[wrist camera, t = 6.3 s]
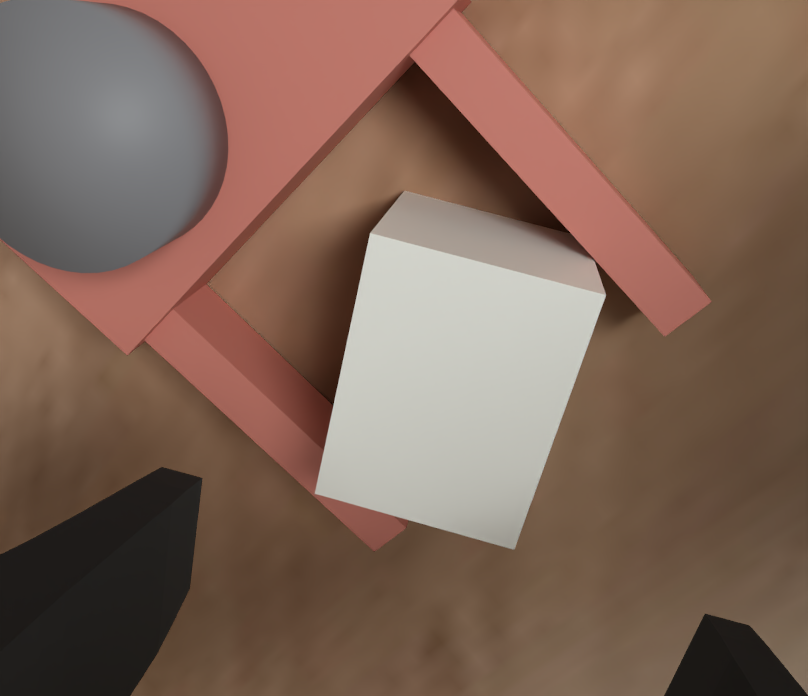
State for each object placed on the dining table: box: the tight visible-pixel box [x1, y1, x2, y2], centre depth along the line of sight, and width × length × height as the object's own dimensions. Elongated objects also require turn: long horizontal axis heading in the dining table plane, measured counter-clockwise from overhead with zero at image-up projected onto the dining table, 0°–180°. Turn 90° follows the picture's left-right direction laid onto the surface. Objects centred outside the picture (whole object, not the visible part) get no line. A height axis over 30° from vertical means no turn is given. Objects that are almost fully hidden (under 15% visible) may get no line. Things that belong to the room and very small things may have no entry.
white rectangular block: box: [315, 191, 606, 550], centre depth 17 cm, size 4×6×4 cm
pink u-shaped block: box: [0, 0, 712, 552], centre depth 16 cm, size 14×11×4 cm
